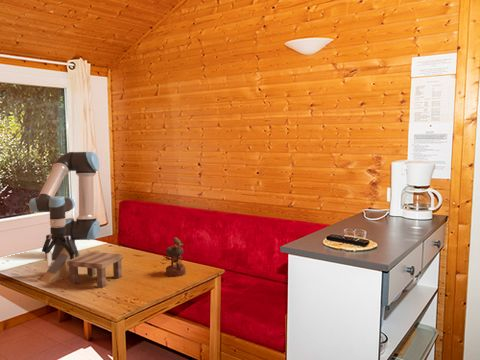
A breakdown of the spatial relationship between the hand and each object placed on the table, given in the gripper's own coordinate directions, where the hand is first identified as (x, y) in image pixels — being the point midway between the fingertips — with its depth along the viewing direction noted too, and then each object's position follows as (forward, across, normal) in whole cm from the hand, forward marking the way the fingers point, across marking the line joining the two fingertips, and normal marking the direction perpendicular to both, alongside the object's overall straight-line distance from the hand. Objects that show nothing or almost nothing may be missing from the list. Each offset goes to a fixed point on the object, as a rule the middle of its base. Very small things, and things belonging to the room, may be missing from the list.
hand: (60, 266), depth 220 cm
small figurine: (+6, +56, +21) cm, 60 cm away
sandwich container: (+6, -1, -1) cm, 6 cm away
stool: (+6, +22, 0) cm, 23 cm away
